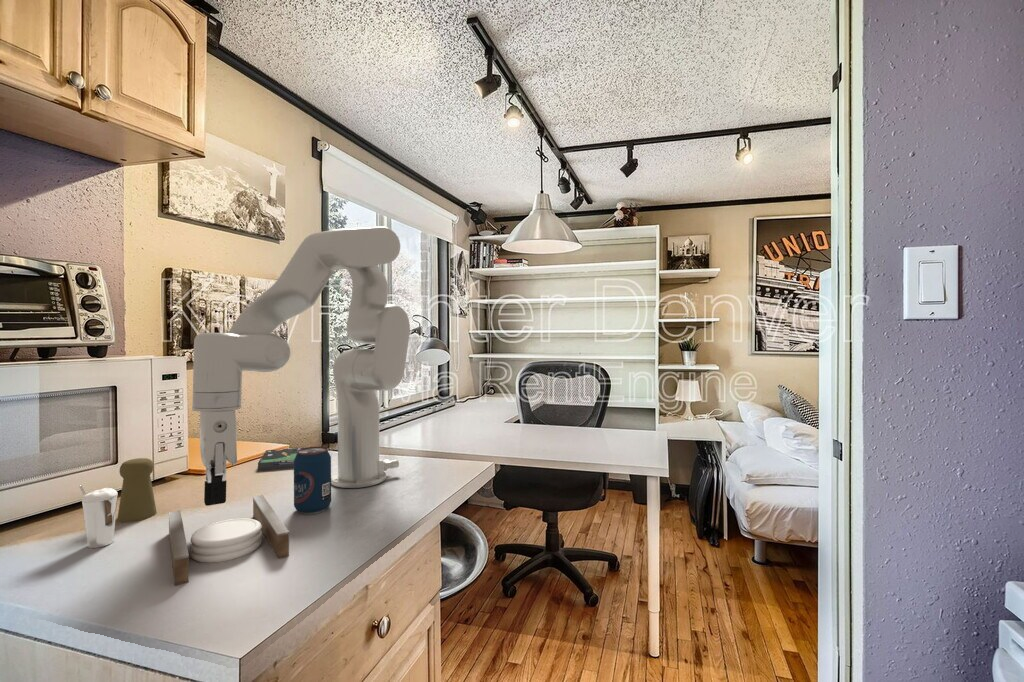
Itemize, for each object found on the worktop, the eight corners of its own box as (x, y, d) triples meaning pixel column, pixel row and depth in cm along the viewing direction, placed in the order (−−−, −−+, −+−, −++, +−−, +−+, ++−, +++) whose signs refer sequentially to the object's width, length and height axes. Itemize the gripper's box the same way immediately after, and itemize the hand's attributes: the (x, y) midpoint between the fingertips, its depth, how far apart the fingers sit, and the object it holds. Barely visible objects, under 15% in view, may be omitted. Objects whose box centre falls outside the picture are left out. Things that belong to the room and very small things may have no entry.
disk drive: (265, 459, 137) (257, 473, 123) (265, 450, 137) (257, 462, 123) (304, 456, 140) (301, 469, 126) (304, 447, 140) (301, 458, 126)
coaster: (272, 536, 83) (272, 516, 83) (242, 564, 73) (241, 541, 73) (214, 537, 83) (214, 517, 83) (175, 565, 73) (175, 542, 73)
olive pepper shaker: (134, 523, 89) (134, 464, 89) (108, 520, 90) (108, 462, 90) (164, 511, 95) (164, 456, 95) (139, 509, 96) (139, 454, 96)
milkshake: (91, 539, 82) (91, 481, 82) (125, 537, 82) (124, 480, 82) (69, 551, 77) (68, 489, 77) (104, 549, 78) (104, 488, 78)
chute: (262, 514, 93) (262, 495, 93) (289, 555, 76) (289, 531, 76) (168, 533, 84) (168, 512, 84) (174, 585, 67) (174, 558, 67)
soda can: (285, 512, 94) (285, 452, 94) (312, 501, 100) (312, 444, 100) (313, 517, 91) (312, 455, 91) (338, 505, 98) (338, 447, 98)
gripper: (247, 404, 82) (245, 510, 82) (235, 396, 94) (233, 489, 94) (195, 406, 78) (193, 519, 78) (189, 398, 90) (187, 496, 90)
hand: (215, 503), depth 86 cm, fingers closed
